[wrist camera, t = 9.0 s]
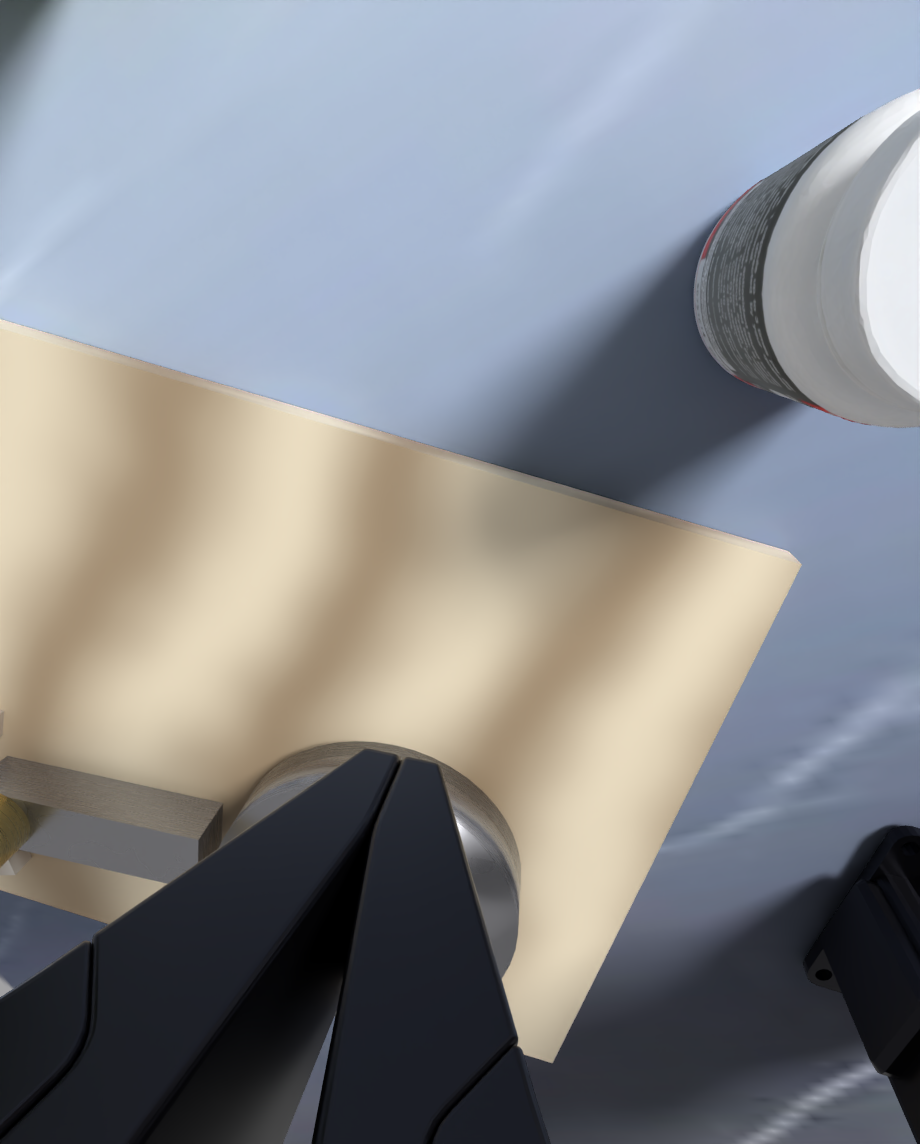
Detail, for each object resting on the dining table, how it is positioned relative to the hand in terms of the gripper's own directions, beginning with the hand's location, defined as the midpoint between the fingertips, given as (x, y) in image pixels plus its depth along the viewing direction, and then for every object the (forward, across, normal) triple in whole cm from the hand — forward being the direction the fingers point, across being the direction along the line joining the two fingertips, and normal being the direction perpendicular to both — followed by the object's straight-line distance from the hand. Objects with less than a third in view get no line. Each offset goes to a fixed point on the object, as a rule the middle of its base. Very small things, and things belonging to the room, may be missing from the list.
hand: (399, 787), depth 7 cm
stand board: (+12, +5, +8) cm, 15 cm away
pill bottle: (+12, -6, -6) cm, 15 cm away
